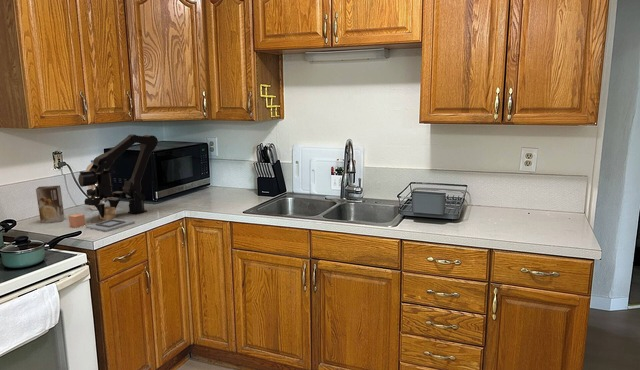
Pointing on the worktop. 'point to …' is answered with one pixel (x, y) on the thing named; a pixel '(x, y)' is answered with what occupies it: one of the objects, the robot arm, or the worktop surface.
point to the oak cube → (108, 213)
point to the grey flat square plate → (110, 224)
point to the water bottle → (93, 186)
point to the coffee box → (50, 204)
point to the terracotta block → (77, 220)
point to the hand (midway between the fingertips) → (107, 216)
